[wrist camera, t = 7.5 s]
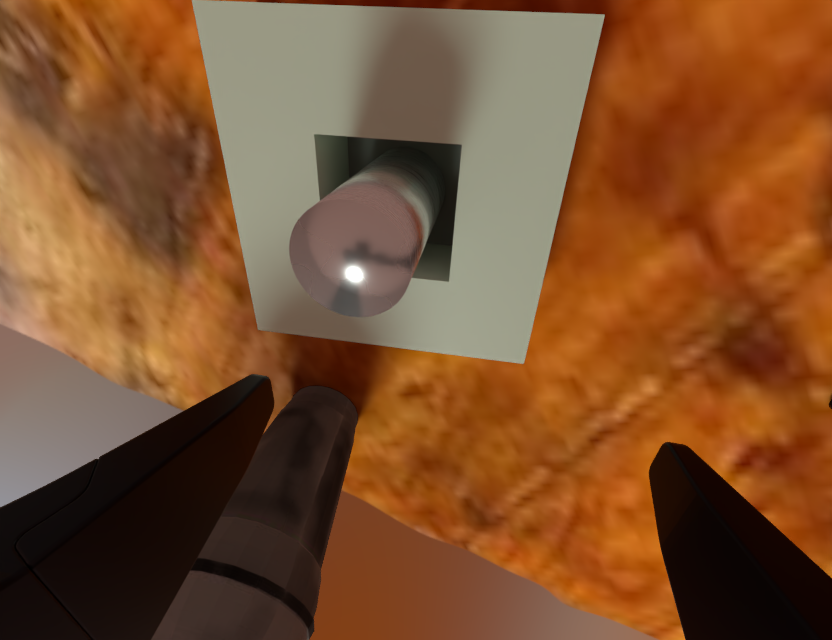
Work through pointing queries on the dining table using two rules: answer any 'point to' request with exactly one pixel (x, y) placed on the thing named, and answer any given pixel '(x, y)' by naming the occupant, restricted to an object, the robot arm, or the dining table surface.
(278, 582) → the beverage cup
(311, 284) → the peg
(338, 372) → the dining table surface
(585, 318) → the dining table surface
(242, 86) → the socket block
